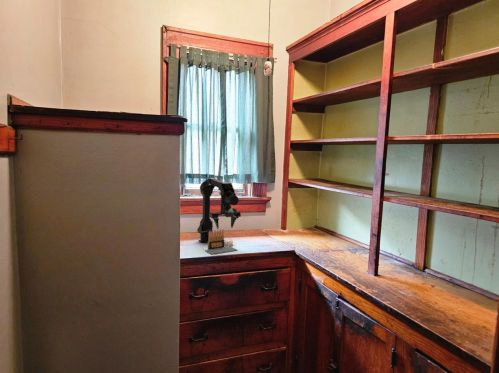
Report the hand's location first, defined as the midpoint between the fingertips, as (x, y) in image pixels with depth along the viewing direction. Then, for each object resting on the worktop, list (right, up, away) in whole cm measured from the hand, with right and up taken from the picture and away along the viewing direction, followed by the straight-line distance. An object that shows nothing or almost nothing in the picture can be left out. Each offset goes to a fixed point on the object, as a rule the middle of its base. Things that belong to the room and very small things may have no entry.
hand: (224, 228), depth 192 cm
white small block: (+1, -13, +15) cm, 20 cm away
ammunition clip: (-6, -14, +7) cm, 17 cm away
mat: (-2, -14, +1) cm, 14 cm away
